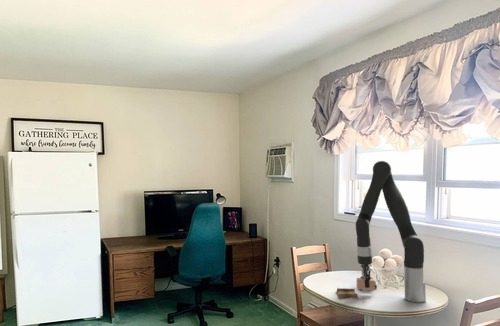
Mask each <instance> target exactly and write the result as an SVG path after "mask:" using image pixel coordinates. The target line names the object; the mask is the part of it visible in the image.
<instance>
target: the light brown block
mask: <svg viewBox="0 0 500 326" xmlns="http://www.w3.org/2000/svg"><path fill="white" fill-rule="evenodd" d="M375 282H376V281H375V278H373V279H370V280H369V286H370V287H369V288H366V287H365V280H364V278H361V277H356V289H357V290H361V289H362V291H363V290H366V291H367V290H368V291H376V288H375Z"/></svg>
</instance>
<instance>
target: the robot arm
mask: <svg viewBox="0 0 500 326" xmlns="http://www.w3.org/2000/svg"><path fill="white" fill-rule="evenodd" d="M381 192H382V195H383V197H384V201H385V204H386V207H387V210H388V213H389V214H390V216H391V217H392V219H393V220H392V221H394V223H395V225H396V227H397V229H398V232H399V236H400V239H401V243H402V247H403V249H404V250H403V251H404V254H403V255H404V258H403V275H404V276H403V277H404V278H403V280H404V299H405V300H406V301H409V302H412V303H423V302H426V301H427V300H426V299H427V298H426V292H427V291H426V282H425V281H424V279H425V278H424V277H425V276H424V275H425V274H424V263H425V249H424V248H425V247H424V242H423V241H422V239H421V238H419V236H418V234H417V233H416V231H415V228H414V226H413V224H412V221H411V215H410V212H409V209H408V206H407V203H406V201H405V199H404V196H403V194H402V193H401V191H400V190H399V187H398V185H396V182H395V180H394V176H393V174H392V167H391V164H390V163H389V162H387V161H385V160H379V161H376V162H375V163H374V165H373V166H372V177H371V181H370V185H369V187H368V189H367V192H366V194H365V196H364V198H363V202H362V205H361V207H360V212H359V213H358V217H357V219H356V222H355V231H356V255H357V264H360V268H361V276H362V277H363V278H364V280H365V287H366V288H369V287H370V286H369V280H370V277H371V268H370V266H369V265H372V263H373V251H372V247H371V246H372V245H371V244H372V243H371V237H370V224H371V222H372V221H371V220H372V218H373V215H374V214H375V210H376V208H377V205H378V202H379V199H380V195H381Z"/></svg>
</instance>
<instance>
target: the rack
mask: <svg viewBox="0 0 500 326" xmlns="http://www.w3.org/2000/svg"><path fill="white" fill-rule="evenodd" d="M336 294H337V297H338V299H346V300H347V299H348V300H349V299H352V300H357V299H359V297H358V293H356V289H355V288H348V287H347V288H346V287H345V288H343V287H342V288H338V287H337V288H336Z"/></svg>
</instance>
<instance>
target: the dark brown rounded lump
mask: <svg viewBox="0 0 500 326" xmlns="http://www.w3.org/2000/svg"><path fill="white" fill-rule="evenodd" d="M360 278H363V277H362V275H361V276H360ZM370 279H374V278H373V277H372V276H370ZM376 283H377V282H376V281H375V290H376V289H377V286H378V285H377V284H376ZM360 290H361V291H363V289H360Z"/></svg>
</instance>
